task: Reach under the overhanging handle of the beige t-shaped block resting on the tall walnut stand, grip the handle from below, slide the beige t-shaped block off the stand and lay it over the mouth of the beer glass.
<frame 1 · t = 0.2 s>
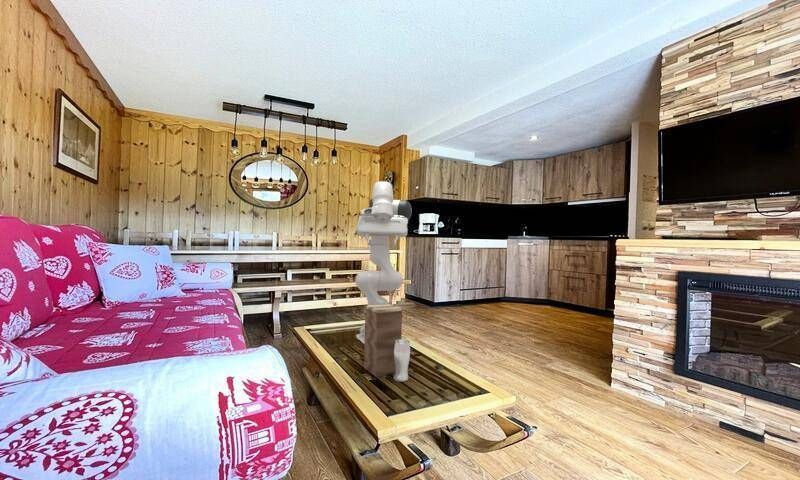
hand: (381, 245, 133), 54 cm above the table, tool tilted 30°, fingers open, 8 cm apart
beige t-shaped block: (383, 309, 147), point 26 cm above the table, touching stand
beer glass: (400, 379, 138), on the table
stand: (382, 369, 147), on the table
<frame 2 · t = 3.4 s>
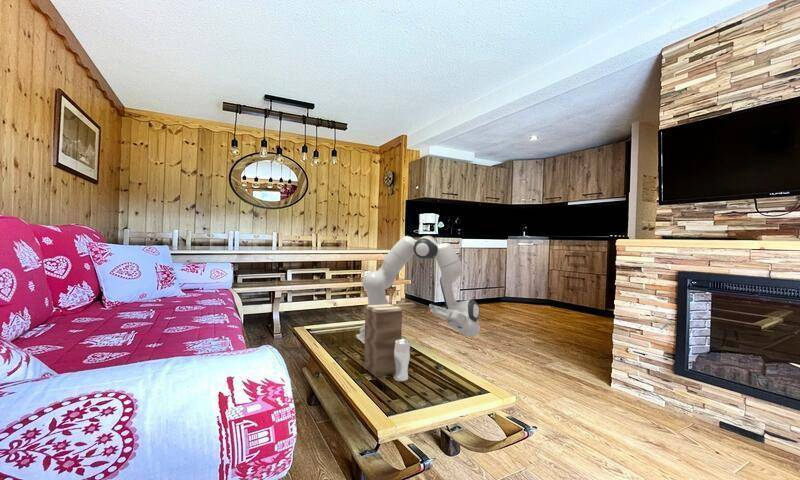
hand: (436, 307, 163), 25 cm above the table, tool pointing upward, fingers open, 8 cm apart
nothing on the table moved.
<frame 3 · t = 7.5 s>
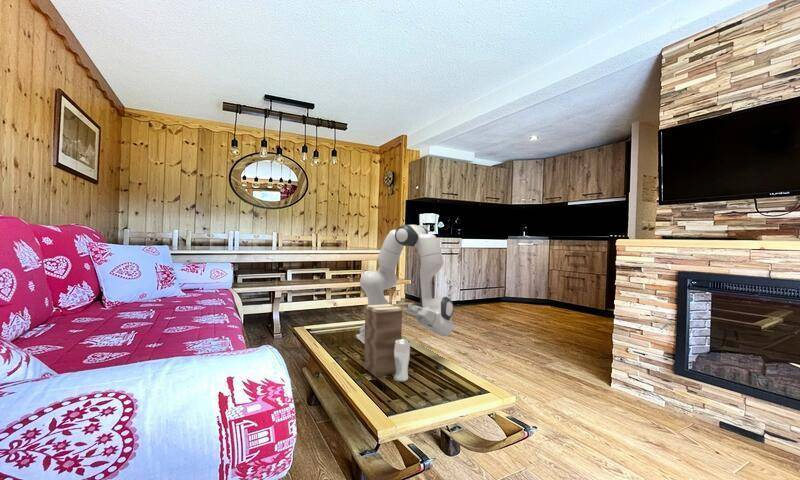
hand: (405, 304, 153), 27 cm above the table, tool pointing upward, fingers closed on beige t-shaped block, 3 cm apart
beige t-shaped block: (383, 309, 147), point 26 cm above the table, touching gripper, stand
everything else where it was.
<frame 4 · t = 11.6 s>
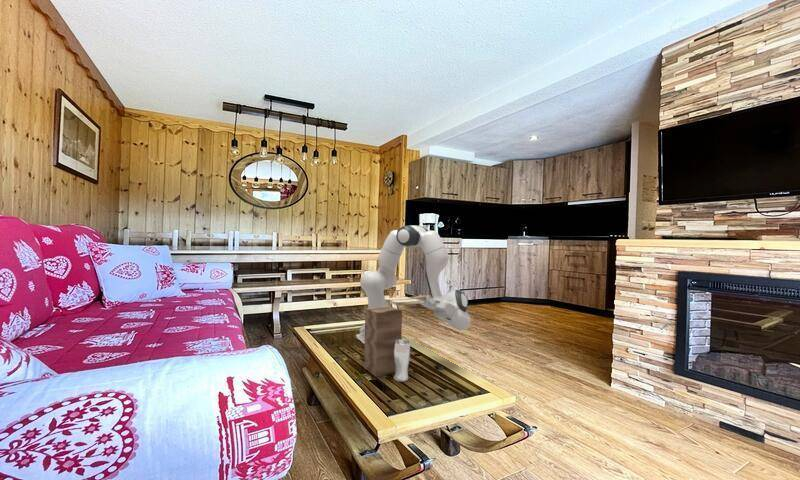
hand: (423, 296, 149), 32 cm above the table, tool pointing upward, fingers closed on beige t-shaped block, 3 cm apart
beige t-shaped block: (401, 302, 143), point 30 cm above the table, touching gripper
everything else where it was.
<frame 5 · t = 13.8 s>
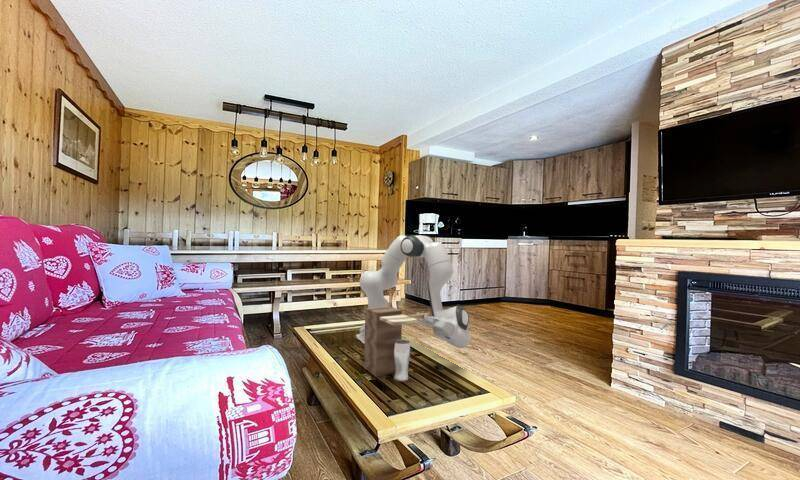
hand: (421, 314, 143), 25 cm above the table, tool pointing upward, fingers closed on beige t-shaped block, 3 cm apart
beige t-shaped block: (398, 321, 137), point 24 cm above the table, touching gripper
everything else where it was.
when the fingers open (18 cm above the table, at t = 15.5 s): beige t-shaped block drops 2 cm, resting on beer glass.
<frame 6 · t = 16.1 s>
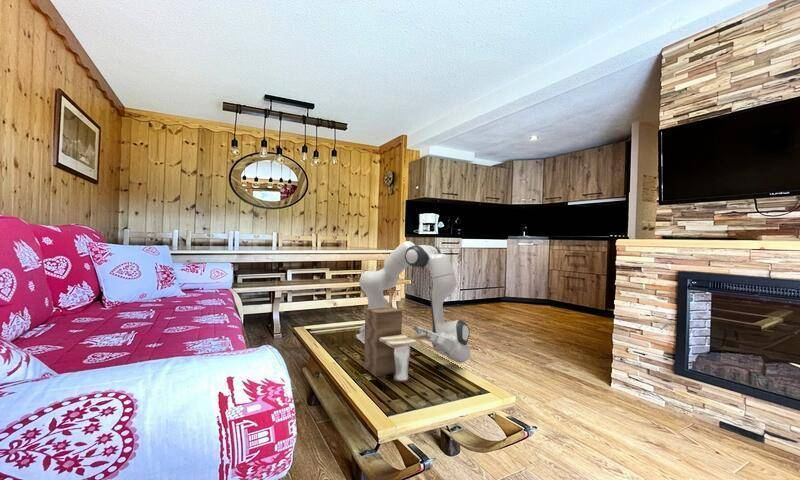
hand: (420, 330, 143), 18 cm above the table, tool pointing upward, fingers open, 8 cm apart
beige t-shaped block: (397, 342, 137), point 15 cm above the table, touching beer glass
beer glass: (400, 379, 138), on the table, touching beige t-shaped block
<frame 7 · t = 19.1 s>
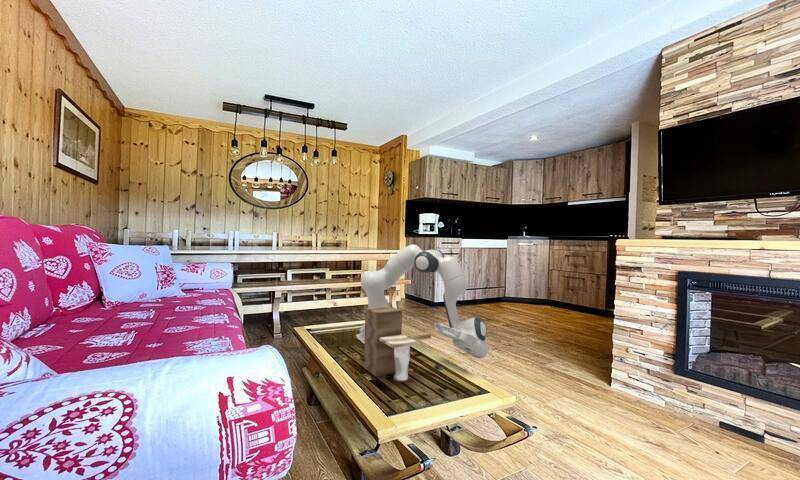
hand: (442, 327, 150), 18 cm above the table, tool pointing upward, fingers open, 8 cm apart
nothing on the table moved.
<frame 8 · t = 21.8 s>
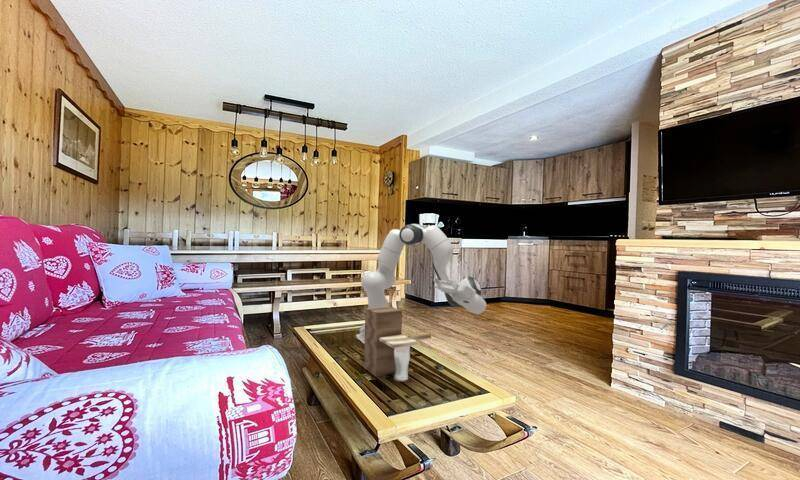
hand: (441, 280, 154), 38 cm above the table, tool pointing upward, fingers open, 8 cm apart
nothing on the table moved.
at the end: beige t-shaped block inside the target area on the beer glass (0.9 cm from its centre), point 15.2 cm above the beer glass's base; beige t-shaped block touching beer glass; the gripper is holding nothing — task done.
